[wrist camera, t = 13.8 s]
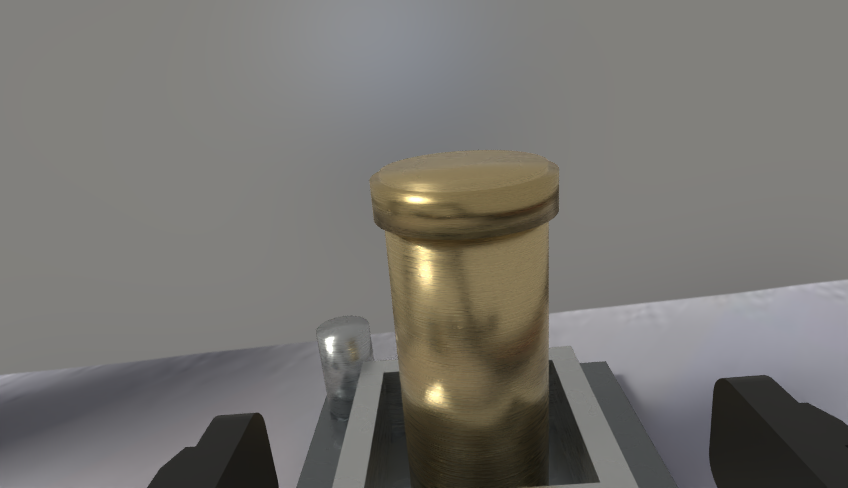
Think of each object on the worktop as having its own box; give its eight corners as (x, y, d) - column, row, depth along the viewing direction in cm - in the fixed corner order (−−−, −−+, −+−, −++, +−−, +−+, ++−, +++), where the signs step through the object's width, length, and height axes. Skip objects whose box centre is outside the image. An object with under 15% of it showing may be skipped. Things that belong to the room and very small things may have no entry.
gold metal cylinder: (397, 554, 18) (355, 193, 14) (408, 439, 23) (379, 155, 19) (572, 549, 18) (579, 178, 14) (543, 434, 23) (541, 144, 19)
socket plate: (219, 775, 14) (170, 625, 12) (333, 398, 29) (319, 311, 27) (807, 752, 13) (835, 590, 11) (605, 378, 28) (606, 288, 26)
